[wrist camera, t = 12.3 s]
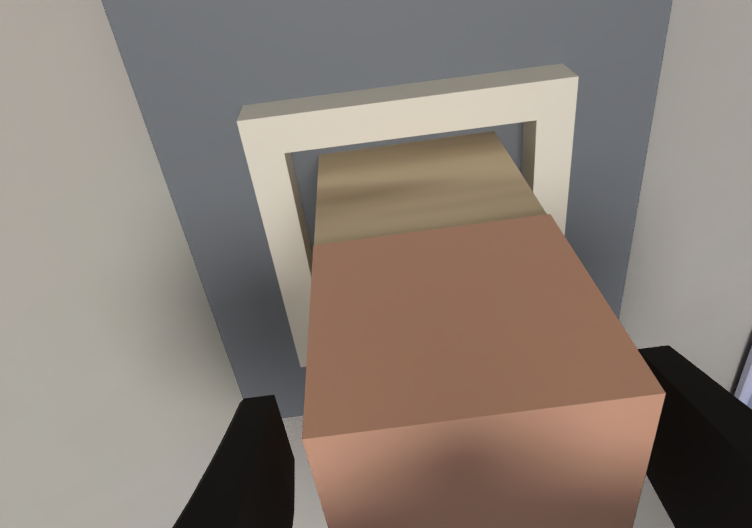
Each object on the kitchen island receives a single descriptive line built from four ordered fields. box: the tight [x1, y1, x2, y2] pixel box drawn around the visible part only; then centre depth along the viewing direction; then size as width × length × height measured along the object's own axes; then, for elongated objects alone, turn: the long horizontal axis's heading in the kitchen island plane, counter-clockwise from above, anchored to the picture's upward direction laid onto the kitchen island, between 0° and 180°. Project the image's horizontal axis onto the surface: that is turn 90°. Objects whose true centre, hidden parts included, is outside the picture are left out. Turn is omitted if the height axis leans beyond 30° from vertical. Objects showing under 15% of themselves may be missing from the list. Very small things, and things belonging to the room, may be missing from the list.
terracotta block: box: [302, 214, 666, 528], centre depth 11 cm, size 5×5×5 cm
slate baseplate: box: [101, 0, 672, 418], centre depth 17 cm, size 16×14×2 cm
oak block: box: [314, 131, 547, 245], centre depth 15 cm, size 5×5×5 cm
